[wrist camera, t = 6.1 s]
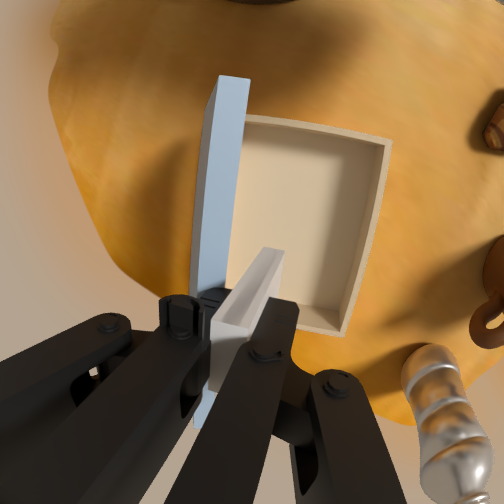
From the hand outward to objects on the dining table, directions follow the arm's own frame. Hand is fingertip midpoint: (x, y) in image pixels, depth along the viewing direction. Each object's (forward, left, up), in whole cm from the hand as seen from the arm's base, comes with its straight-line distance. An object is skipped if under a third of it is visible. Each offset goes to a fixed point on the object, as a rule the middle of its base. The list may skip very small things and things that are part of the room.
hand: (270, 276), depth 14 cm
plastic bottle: (+12, +17, -13) cm, 25 cm away
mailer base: (0, 0, -13) cm, 13 cm away
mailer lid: (0, -4, -2) cm, 4 cm away
